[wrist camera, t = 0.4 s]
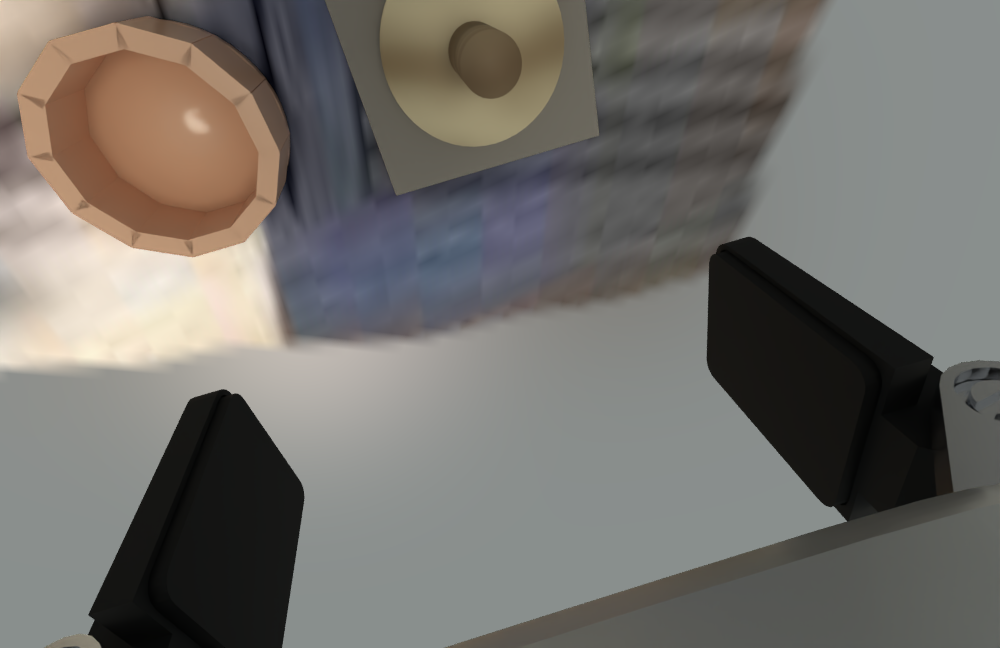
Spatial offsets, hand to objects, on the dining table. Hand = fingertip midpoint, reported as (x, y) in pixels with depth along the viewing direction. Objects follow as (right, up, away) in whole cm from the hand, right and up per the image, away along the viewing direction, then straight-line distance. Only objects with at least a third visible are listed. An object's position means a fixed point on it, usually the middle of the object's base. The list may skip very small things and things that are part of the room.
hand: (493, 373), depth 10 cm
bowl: (-18, +12, +19) cm, 29 cm away
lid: (-1, +17, +20) cm, 26 cm away
